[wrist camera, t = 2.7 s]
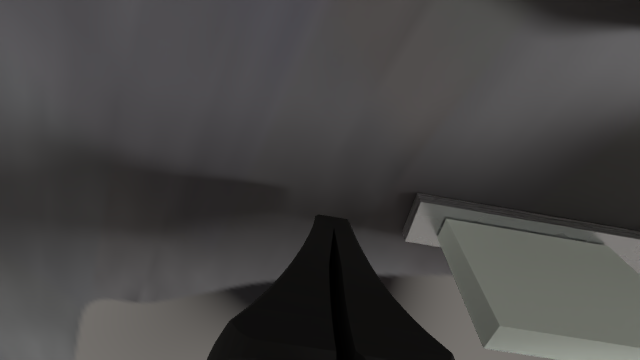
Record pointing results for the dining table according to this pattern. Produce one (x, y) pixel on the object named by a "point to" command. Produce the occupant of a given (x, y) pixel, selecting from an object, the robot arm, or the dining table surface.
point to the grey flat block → (544, 293)
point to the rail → (514, 225)
